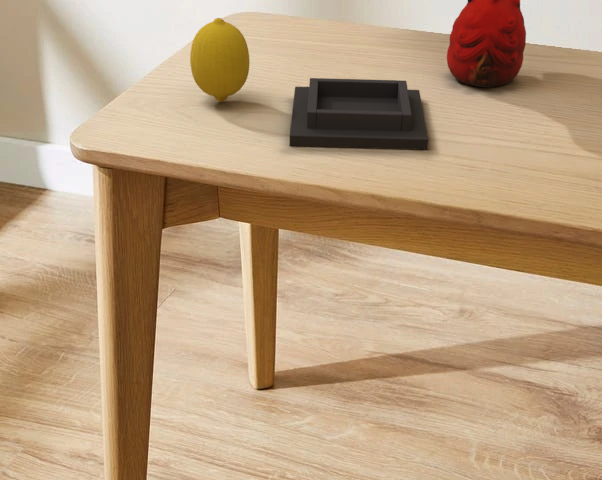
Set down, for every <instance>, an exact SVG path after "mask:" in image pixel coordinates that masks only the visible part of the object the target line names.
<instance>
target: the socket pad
mask: <svg viewBox="0 0 602 480" xmlns="http://www.w3.org/2000/svg"><path fill="white" fill-rule="evenodd" d="M420 92H421V91H420V89H409V88H408V82H407V80H399V79H396V80H395V79H363V78H362V79H361V78H360V79H359V78H327V77H326V78H325V77H323V78H322V77H319V78H318V77H310V78H309V85H308V86H295V87H294V92H293V93H294V94H293V102H292V103H293V104H292V112H291V118H290V119H291V120H290V129H289V146H290V147H317V148H319V147H320V148H321V147H322V148H351V149H353V148H354V149H357V148H358V149H385V150H386V149H390V150H423V151H424V150H425V151H427V150H428V148H429V135H428V131H427V130H428V129H427V125H426V119H425V113H424V108H423V103H422V98H421V93H420Z"/></svg>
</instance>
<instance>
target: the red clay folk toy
mask: <svg viewBox="0 0 602 480" xmlns="http://www.w3.org/2000/svg"><path fill="white" fill-rule="evenodd" d="M526 41H527V30H526V26H525V18H524V15H523V12H522V9H521V0H467V3H466V5H465V6H464V7H463V8H462V9H461V11H460V13H459V14H458V16H457V17H456V18H455V19H454V22H453V24H452V30H451V31H450V34H449V45H448V47H447V51H446V63H447V67H448V68H447V69H448V70H449V72H450V74H451V75H452V76H453V77H454V78H455V79H456V80H457V81H459V82H461V83H462V84H466V85H469V86H473V87H480V88H490V87H491V88H498V87H501V86H505V85H507V84H509V83H513V82H514V80H515V79H516V77H517V76H518V74H519V73H520V70H521V68H522V67H523V63H524V52H525V48H526V45H527V42H526Z"/></svg>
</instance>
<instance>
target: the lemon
mask: <svg viewBox="0 0 602 480" xmlns="http://www.w3.org/2000/svg"><path fill="white" fill-rule="evenodd" d="M190 48H191V49H190V55H189V56H190V57H189V62H190V71H191V75H192V78H193V80H194V83H195V84H196V85H197V86H198V88H199V89H200V90H201V91H202V92H203V93H205V94H206V95H208V96H211V97H213V98H214V99H215V100H216V101H217V102H219V103H223V102H225V101H226V100H227V99H228V98H229V97H230V96H232V95H235V94H236V93H238V92H239V91H240V90H241V89H242V88H243V86H244V85H245V84H246V82H247V79H248V76H249V71H250V61H251V60H250V52H249V46H248V44H247V40H246V38H245V36H244V34H243V33H242V32H241V31H240V29H239V28H238V27H237V26H236V25H233V24H232V23H230V22H228V21H225V20H224V19H223V18H221V17H216V18H214V20H213V21H211V22H208V23H206V24H205V25H203V26H201V28H200V29H198V31H197V33H195V36H194V38H193V40H192V43H191V47H190Z"/></svg>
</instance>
